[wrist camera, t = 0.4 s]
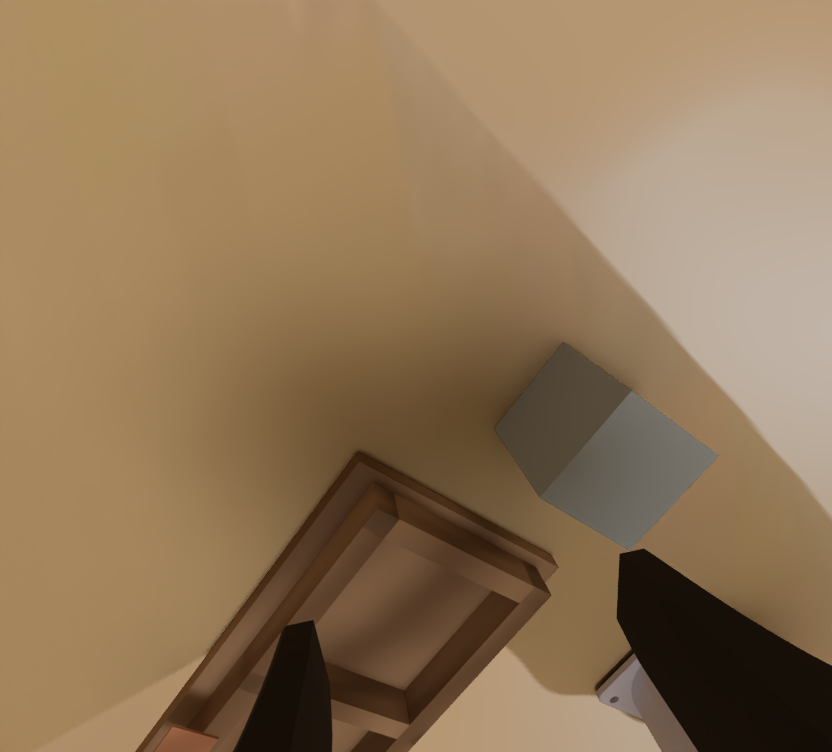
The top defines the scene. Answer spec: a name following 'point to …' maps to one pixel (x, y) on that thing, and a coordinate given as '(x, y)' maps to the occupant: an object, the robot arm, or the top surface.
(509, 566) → the slot rack
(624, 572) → the robot arm
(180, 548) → the top surface
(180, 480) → the top surface
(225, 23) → the top surface
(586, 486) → the slate block
